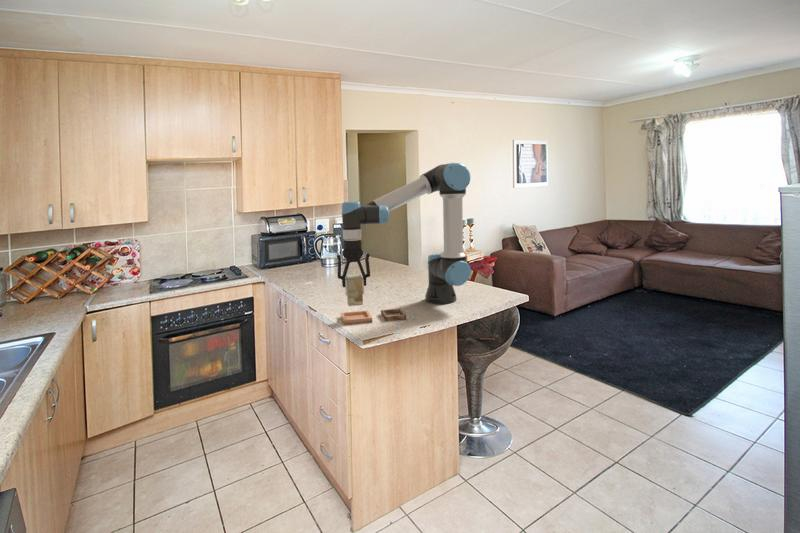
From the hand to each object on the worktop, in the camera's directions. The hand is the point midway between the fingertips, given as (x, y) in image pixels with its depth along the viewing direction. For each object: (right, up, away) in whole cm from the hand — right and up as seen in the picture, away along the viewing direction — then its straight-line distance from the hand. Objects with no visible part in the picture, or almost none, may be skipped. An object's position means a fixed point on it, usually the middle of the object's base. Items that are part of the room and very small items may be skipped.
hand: (354, 293), depth 183 cm
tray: (0, -11, +2) cm, 11 cm away
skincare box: (0, -5, +1) cm, 5 cm away
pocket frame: (+16, -10, +4) cm, 20 cm away
